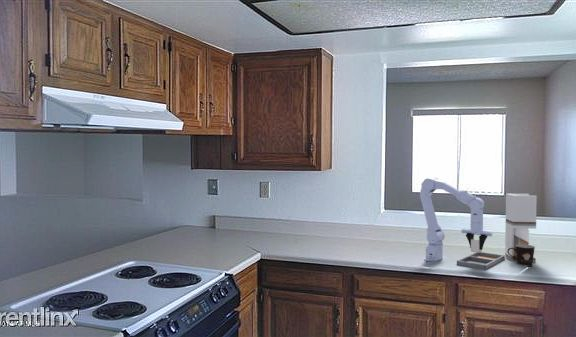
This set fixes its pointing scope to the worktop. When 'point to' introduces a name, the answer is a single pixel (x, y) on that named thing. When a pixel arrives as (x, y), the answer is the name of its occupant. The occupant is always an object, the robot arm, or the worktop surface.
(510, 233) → the coffee maker
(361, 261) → the worktop surface
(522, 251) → the coffee mug
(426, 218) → the robot arm
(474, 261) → the tray
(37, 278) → the worktop surface
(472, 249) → the white rectangular block
